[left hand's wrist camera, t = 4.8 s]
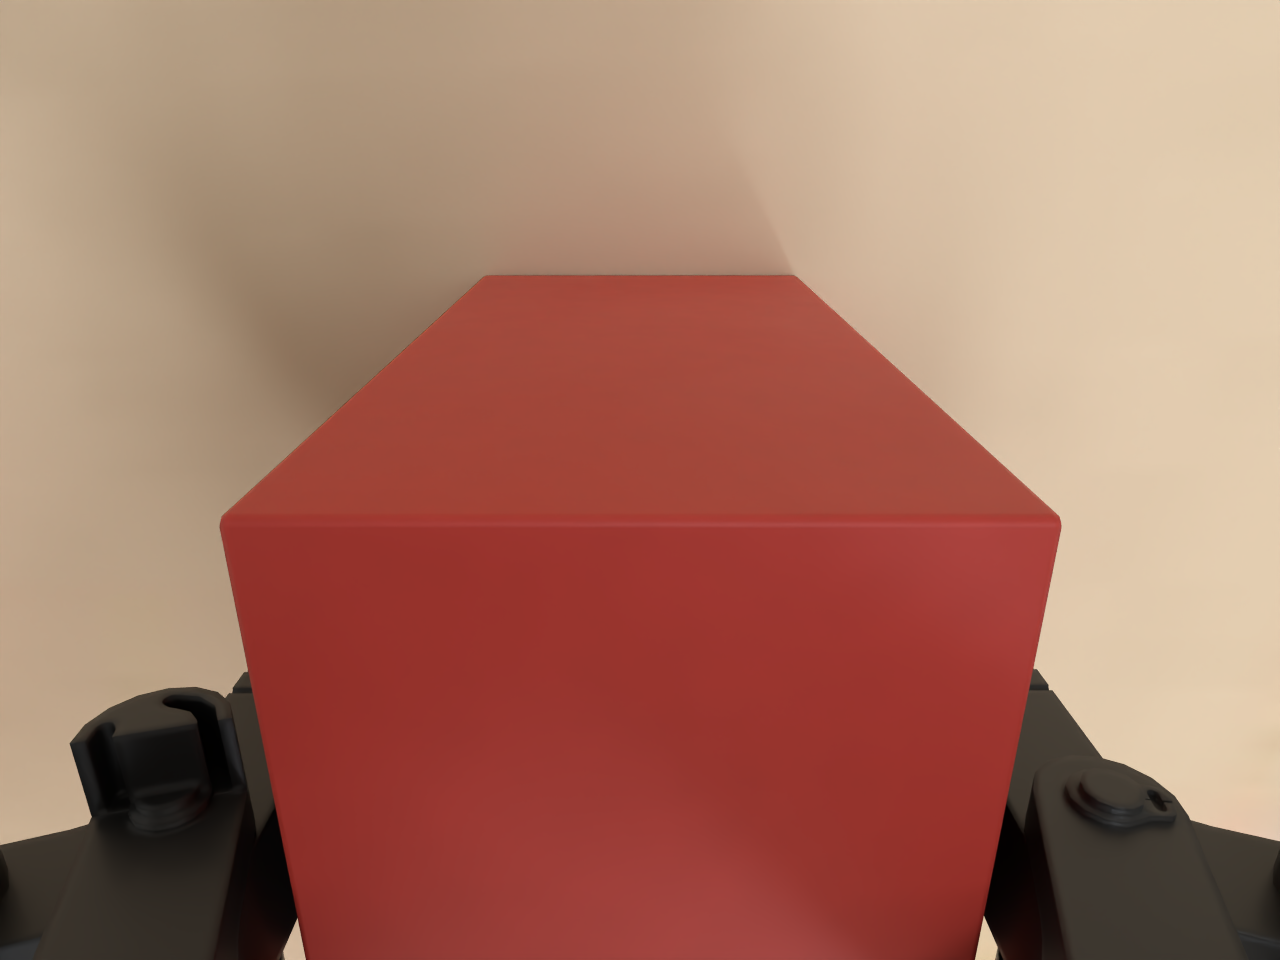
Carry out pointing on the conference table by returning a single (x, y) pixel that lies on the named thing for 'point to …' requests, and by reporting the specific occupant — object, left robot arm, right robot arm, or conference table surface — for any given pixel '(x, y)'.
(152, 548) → the conference table surface
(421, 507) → the block
